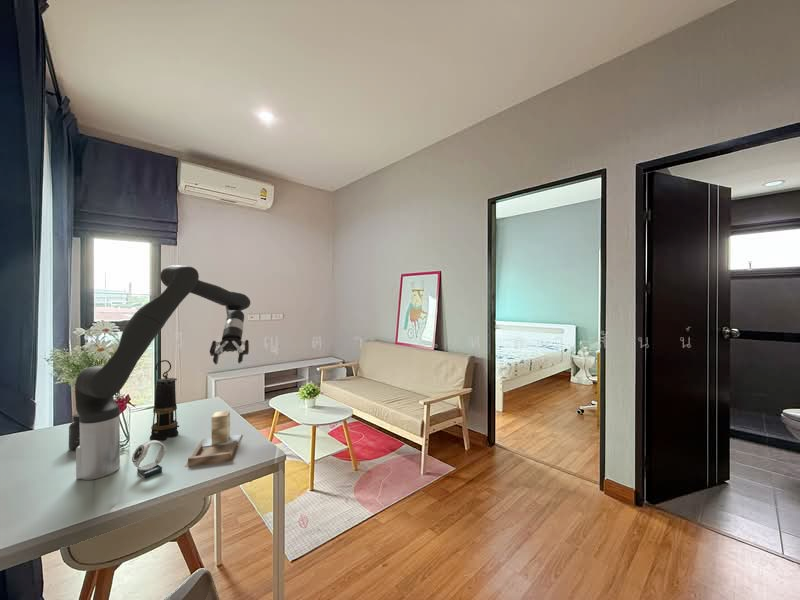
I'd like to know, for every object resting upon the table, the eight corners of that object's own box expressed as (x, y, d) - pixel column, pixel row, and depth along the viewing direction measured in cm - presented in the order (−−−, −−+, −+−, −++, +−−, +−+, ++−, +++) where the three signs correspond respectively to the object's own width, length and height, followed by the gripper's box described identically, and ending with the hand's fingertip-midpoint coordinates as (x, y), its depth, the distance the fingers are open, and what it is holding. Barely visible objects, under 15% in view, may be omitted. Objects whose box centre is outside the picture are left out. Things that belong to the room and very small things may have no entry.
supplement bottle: (81, 451, 114) (81, 418, 114) (62, 451, 114) (62, 417, 114) (100, 442, 121) (100, 411, 121) (82, 442, 121) (82, 410, 121)
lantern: (181, 436, 127) (180, 360, 127) (152, 443, 120) (152, 364, 120) (175, 429, 133) (175, 357, 133) (147, 436, 127) (147, 360, 126)
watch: (129, 481, 97) (129, 445, 96) (160, 469, 103) (160, 435, 103) (137, 487, 94) (137, 450, 93) (168, 474, 100) (168, 439, 100)
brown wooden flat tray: (184, 471, 102) (184, 459, 102) (202, 443, 121) (202, 432, 121) (233, 465, 106) (233, 453, 106) (243, 438, 125) (243, 428, 125)
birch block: (211, 444, 117) (211, 417, 117) (215, 438, 122) (215, 412, 121) (226, 442, 118) (226, 415, 118) (229, 436, 123) (229, 410, 123)
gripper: (213, 326, 136) (205, 358, 125) (250, 325, 140) (245, 356, 130) (216, 336, 141) (209, 368, 130) (251, 336, 145) (247, 366, 135)
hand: (227, 362), depth 130 cm, fingers open, 8 cm apart
